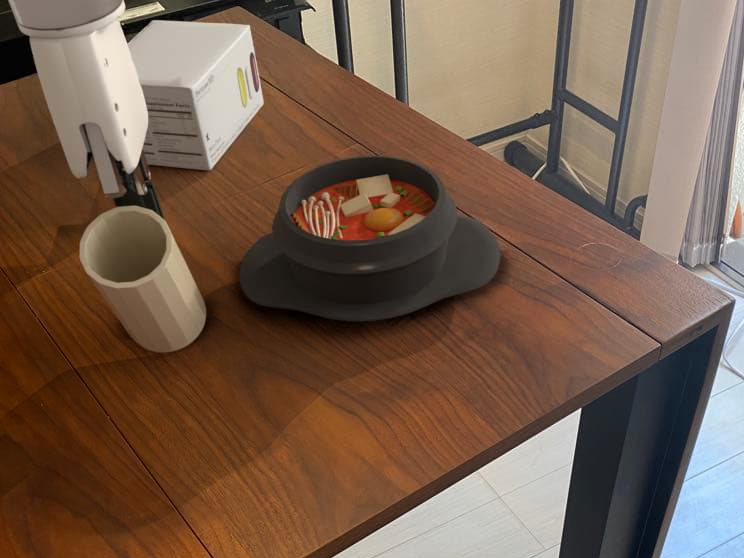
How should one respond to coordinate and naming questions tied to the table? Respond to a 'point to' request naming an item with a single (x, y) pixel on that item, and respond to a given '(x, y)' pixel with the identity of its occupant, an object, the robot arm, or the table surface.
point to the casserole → (367, 243)
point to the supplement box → (195, 89)
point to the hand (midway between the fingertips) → (147, 231)
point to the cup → (143, 278)
